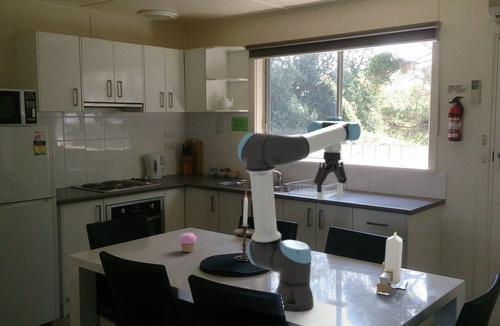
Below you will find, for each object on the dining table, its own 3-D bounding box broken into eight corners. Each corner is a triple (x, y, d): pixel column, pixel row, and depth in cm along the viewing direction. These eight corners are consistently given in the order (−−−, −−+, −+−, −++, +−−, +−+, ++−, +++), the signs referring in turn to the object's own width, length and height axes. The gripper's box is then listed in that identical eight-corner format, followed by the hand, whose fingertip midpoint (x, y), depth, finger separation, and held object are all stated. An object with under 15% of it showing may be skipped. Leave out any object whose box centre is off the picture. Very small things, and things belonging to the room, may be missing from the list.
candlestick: (252, 263, 235) (255, 191, 232) (230, 261, 238) (232, 190, 234) (256, 257, 246) (259, 188, 243) (235, 255, 248) (237, 187, 245)
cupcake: (197, 250, 256) (198, 231, 255) (194, 254, 247) (194, 235, 247) (181, 249, 257) (181, 230, 256) (176, 253, 248) (177, 234, 247)
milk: (383, 283, 212) (386, 233, 210) (386, 279, 218) (389, 230, 215) (398, 285, 209) (400, 234, 207) (400, 281, 215) (403, 232, 213)
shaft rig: (403, 298, 195) (404, 279, 195) (372, 293, 200) (373, 274, 199) (409, 274, 227) (410, 257, 226) (382, 270, 231) (383, 254, 231)
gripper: (343, 150, 231) (340, 194, 233) (307, 151, 215) (305, 199, 217) (356, 151, 225) (353, 197, 227) (320, 152, 209) (317, 201, 211)
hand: (329, 198), depth 222 cm, fingers open, 13 cm apart
